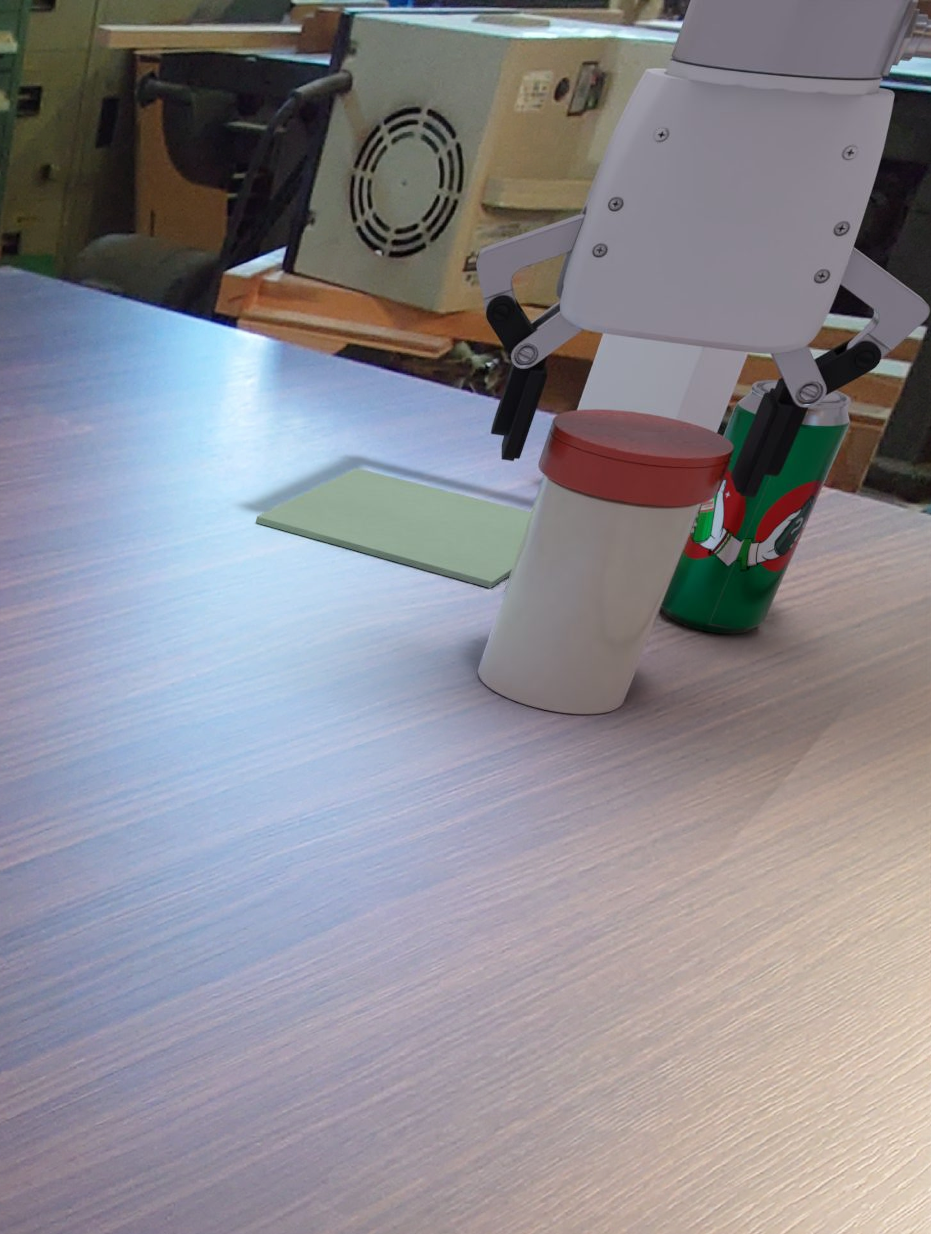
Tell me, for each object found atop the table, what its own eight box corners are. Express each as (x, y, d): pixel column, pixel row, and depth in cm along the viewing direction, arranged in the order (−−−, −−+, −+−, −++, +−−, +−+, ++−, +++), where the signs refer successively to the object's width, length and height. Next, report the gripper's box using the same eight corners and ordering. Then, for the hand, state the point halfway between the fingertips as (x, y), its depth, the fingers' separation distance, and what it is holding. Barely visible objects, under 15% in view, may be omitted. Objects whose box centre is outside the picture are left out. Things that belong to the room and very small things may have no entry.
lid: (718, 473, 78) (736, 427, 77) (717, 518, 72) (736, 469, 71) (544, 444, 81) (559, 400, 79) (531, 486, 75) (546, 439, 74)
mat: (577, 530, 101) (580, 524, 101) (490, 588, 93) (492, 581, 93) (354, 473, 109) (356, 467, 109) (255, 522, 101) (256, 516, 100)
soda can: (761, 614, 91) (859, 389, 84) (758, 645, 87) (861, 412, 81) (658, 594, 93) (745, 371, 86) (651, 623, 89) (742, 394, 83)
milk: (545, 499, 106) (674, 112, 94) (597, 484, 109) (729, 106, 97) (638, 528, 102) (786, 126, 90) (690, 511, 105) (840, 120, 93)
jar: (626, 676, 83) (720, 438, 77) (620, 726, 79) (720, 477, 72) (484, 647, 86) (563, 414, 79) (470, 694, 81) (553, 449, 74)
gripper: (1016, 54, 67) (827, 480, 76) (546, 18, 72) (424, 420, 82) (1064, 71, 61) (853, 529, 71) (549, 30, 66) (418, 461, 76)
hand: (623, 470), depth 76 cm, fingers open, 9 cm apart
